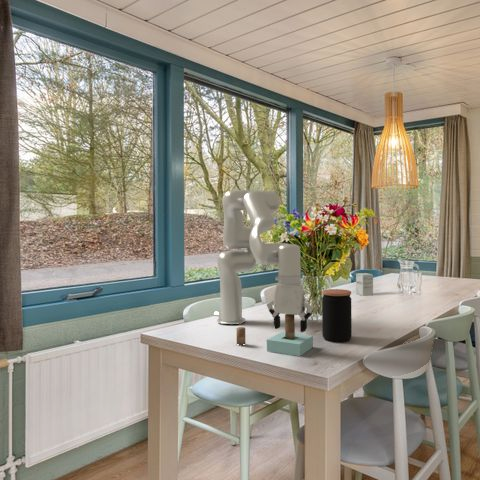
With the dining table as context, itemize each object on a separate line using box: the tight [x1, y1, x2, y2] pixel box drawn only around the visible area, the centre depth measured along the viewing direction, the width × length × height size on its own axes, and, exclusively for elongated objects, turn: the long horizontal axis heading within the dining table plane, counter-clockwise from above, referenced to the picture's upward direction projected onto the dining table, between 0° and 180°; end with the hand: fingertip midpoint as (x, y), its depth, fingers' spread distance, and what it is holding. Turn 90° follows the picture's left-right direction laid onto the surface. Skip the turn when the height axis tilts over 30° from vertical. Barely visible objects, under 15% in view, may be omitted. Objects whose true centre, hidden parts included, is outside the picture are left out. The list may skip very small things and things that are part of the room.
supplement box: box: [355, 272, 374, 297], centre depth 261 cm, size 7×7×13 cm
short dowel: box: [235, 326, 247, 345], centre depth 157 cm, size 3×3×6 cm
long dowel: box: [284, 314, 296, 340], centre depth 151 cm, size 3×3×12 cm
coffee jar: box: [321, 288, 353, 344], centre depth 163 cm, size 11×11×18 cm
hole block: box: [266, 331, 314, 357], centre depth 151 cm, size 12×12×4 cm
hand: (290, 329), depth 151 cm, fingers open, 9 cm apart
